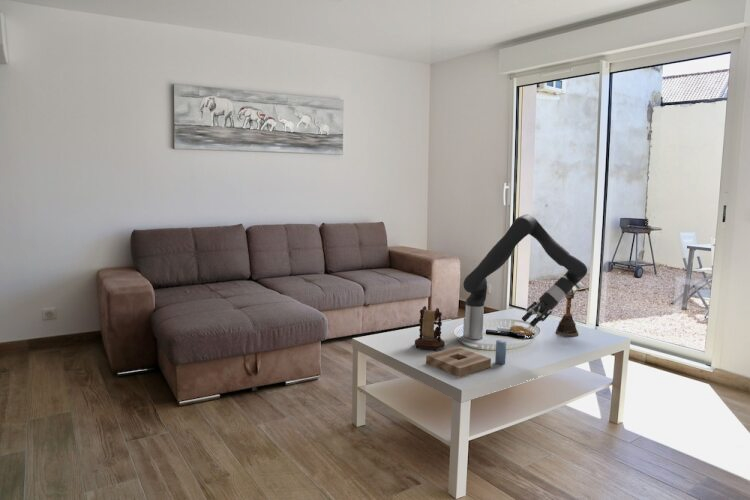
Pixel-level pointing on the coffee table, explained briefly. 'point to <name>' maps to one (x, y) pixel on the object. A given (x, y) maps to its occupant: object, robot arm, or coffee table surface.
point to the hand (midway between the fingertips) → (527, 322)
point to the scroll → (430, 330)
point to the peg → (500, 352)
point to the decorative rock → (521, 330)
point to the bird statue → (569, 314)
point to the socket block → (458, 361)
